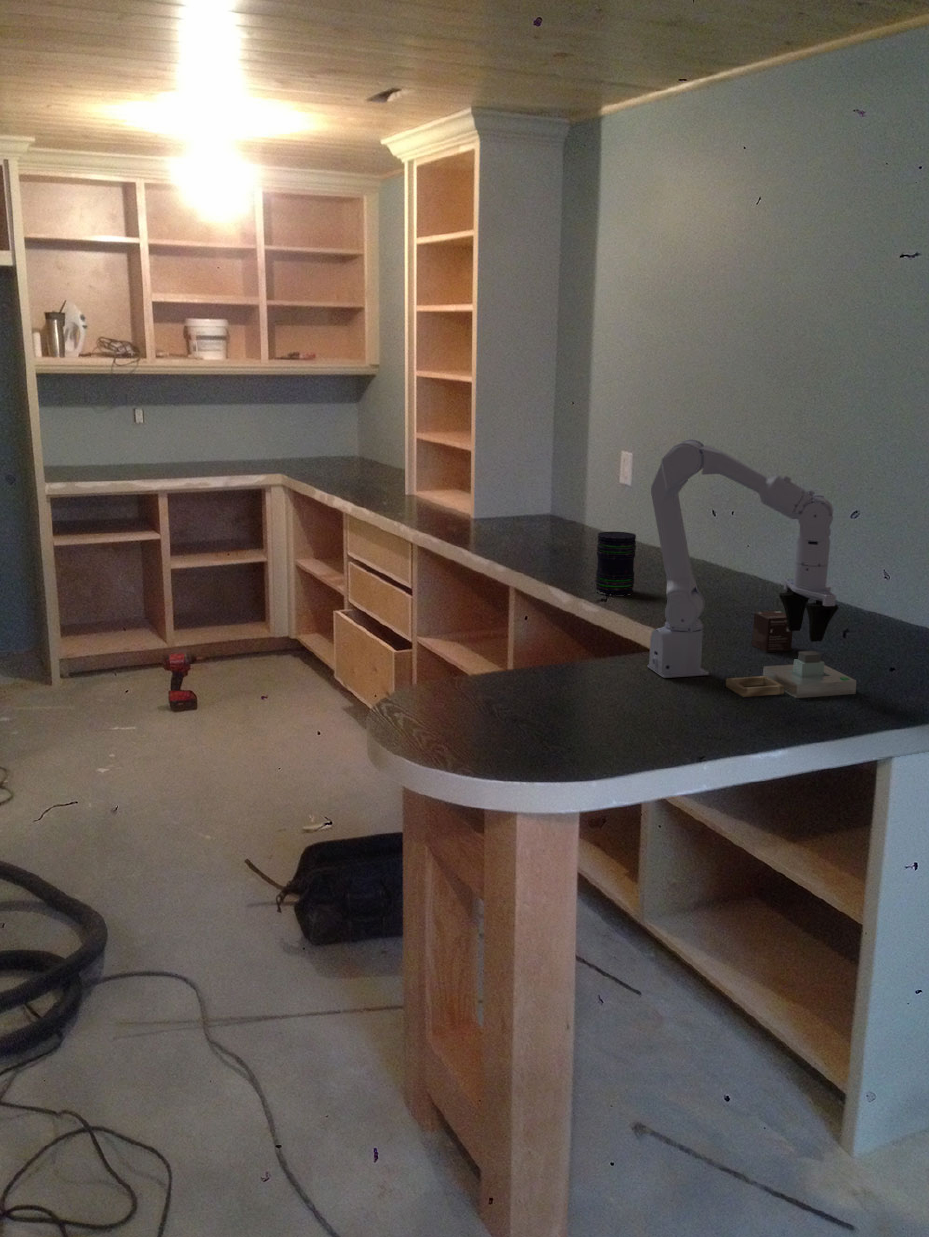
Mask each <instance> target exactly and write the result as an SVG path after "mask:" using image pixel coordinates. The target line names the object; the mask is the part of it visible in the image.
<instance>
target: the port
mask: <svg viewBox="0 0 929 1237" xmlns="http://www.w3.org/2000/svg"><path fill="white" fill-rule="evenodd" d="M793 665H794V663H793V664H785V665H784V664H782V665H781V664H780V665H767V666H765V665H764V666H763V670H762V672H763V673H762V676H767V677H769V678H771V679H772V680H774V681H776V682H778V683H779V684H781V685H783V686H784V693H786V694H789V696H792V697H794V698H795V699H802V698H804V699H805V698H817V697H829V696H832V697H833V696H842V695H843V696H844V695H855V694H856V690H857V680H856V679H855V678H852V677H851V676H848V675H846V674H844V673H842V672H840V671H839V670H836V669H834V668H832V667H830V666H827V665H825V664H824V673H823V676H822V677H807V678H800V677H798V676H796V675H795V674H793Z"/></svg>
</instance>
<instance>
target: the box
mask: <svg viewBox="0 0 929 1237" xmlns="http://www.w3.org/2000/svg"><path fill="white" fill-rule="evenodd" d="M753 613H754V614H753V622H752V623H753V624H752V634H751V635H752V636H751V646H753V647H754V648H757V649H759V650H761V651H763V652H764V653H776V652H778V653H779V652H789V651H792V642H793V632H794V631H789V629H788V624H787V618H786V613H785V612H782V611H779V610H778V611H776V610H775V611H771V610H769V611H765V610H764V611H756V612H755V611H754V612H753Z"/></svg>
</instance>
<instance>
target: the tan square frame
mask: <svg viewBox="0 0 929 1237" xmlns="http://www.w3.org/2000/svg"><path fill="white" fill-rule="evenodd" d="M725 687H727V688H728V689H730V690H731V691H733V692H734V693H736V694H738V695H739V696H741V697H743V698H746V697H747V698H748V697H761V696H762V697H763V696H773V695H774V696H775V695H776V696H777V695H784V694H785V692H784V686H783V685H781V684H779V683H778V682H776V681H774V680H772V679H771V678H769V677H767V676H763V675H760V676H759V675H758V676H746V677H745V676H744V677H743V676H742V677H730V678H729V677H728V678H726V680H725Z"/></svg>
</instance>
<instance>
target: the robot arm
mask: <svg viewBox="0 0 929 1237" xmlns="http://www.w3.org/2000/svg"><path fill="white" fill-rule="evenodd" d="M701 470H702V471H701ZM700 471H701V475H702V476H703V475H718V474H719V475H721V476H724V477H725V478H728V479H730V480H732V481H733V482H735V483H737V484H740V485H741V486H743V487H745V488H748V489H750V490H752V491H754V492H756V493H757V494H758V495H759V498H760V502H761V504H763V505H765V506H767V507H769V508H770V509H772V510H774V511H776V512H777V513H780V514H782V515H783V516H785V517H787V518H789V519H791V520H797V521H798V523H799V534H798V536H797V539H796V540H797V541H796V551H795V552H796V553H795V561H794V562H795V563H794V573H793V574H794V575H793V578H787V579H785V578H784V581H783V590H784V591H785V590H786V591H785V592H779V594H778V596H779V599H780V601H781V603H782V605H783V608H784V613H785V614H786V618H787V624H788V629H789V631H793V632H800V631H801V629H802V626H803V620H804V613H805V610H806V612H807V615H808V621H809V624H808V626H809V629H808V630H809V631H808V632H809V635H808V636H809V641H810V642H813V643H814V642H822V641H823V639H824V636H825V635H826V631H827V629H828V626H829V624H830V622H831V620H832V618H833V617H834V615H835V614H836V613H837V611H838V610H839V605H837V604H836V601H837V600H836V599H837V595H836V594H834V593H832V591H831V590H832V587H831V586H830V585H827V578H828V567H829V556H830V549H831V548H830V547H831V546H830V545H831V538H830V536H831V528H830V527H831V525H832V523H833V520H834V516H833V514H834V509H833V505H832V504H831V502H830V501H829V500H828V499H826V498H825V497H824V495H820V494H816V491H814V490H812V489H809V491H808V490H806V489H805V488H803V487H802V486H799V485H797V484H795V483H794V482H792V477H789V476H788V475H784V476H783V477H782V476H781V475H777V474H776V475H773V476H769V477H767V476H766V475H763V474H762V473H760V472H759V471H757V470H755V469H753V468H752V467H750V466H748V465H746V464H745V463H743V462H742V461H740V460H738V459H736V458H735V457H733V456H731V455H729V454H728V453H726V452H724V451H722V450H720V449H717V448H716V447H714V446H712V445H708V444H706V445H704V444H703V443H702V442H701V441H699V440H698V439H686V440H684V441H681V442H680V443H678V444H675V445H674V446H672V448H671V449H670V450H669V451H668V452H667V453H666V454H665V455H664V456H663V457H662V458H661V463H660V465H659V468H658V470H657V472H656V475H655V477H654V478H653V482H652V484H651V487H650V493H651V499H652V504H653V510H654V516H655V522H656V526H657V532H658V539H659V544H660V549H661V554H662V555H661V556H662V559H663V560H662V561H663V567H664V571H665V576H666V592H665V594H666V600H667V602H666V605H665V609H664V617H665V620H666V621H665V622H664V626H662V627H659V628H653V630H652V631H651V634H650V643H649V644H650V645H649V660H648V662H649V664H647V668H649V670H651V671H653V672H654V673H655V674H657V675H659V676H660V677H662V678H663V679H669V678H683V677H684V678H686V677H697V676H698V677H700V676H701V677H702V676H709V675H710V673H709V672H708V671H707V670H705V669H704V668H702V667H701V665H702V651H703V634H704V623H702V621H701V620H700V618H699V617H700V616H701V615H702V614H703V612H704V610H705V606H706V605H705V604H706V603H705V598H704V596H703V595H702V594H701V592H700V591H699V589H698V586H697V581H696V579H695V577H694V574H693V571H692V564H691V559H690V554H689V552H690V551H689V547H688V542H687V537H686V536H687V535H686V532H685V531H686V530H685V526H684V525H685V524H684V521H683V520H684V519H683V513H682V509H681V502H680V496H679V493H680V492H681V490H682V489H684V488H683V487H684V486H685V485H686V484H687V482H688V481H689V479H691V478H692V477H693V476H694V475H696V474H697V473H699V472H700ZM810 600H813V601H815V602H809V601H810Z"/></svg>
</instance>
